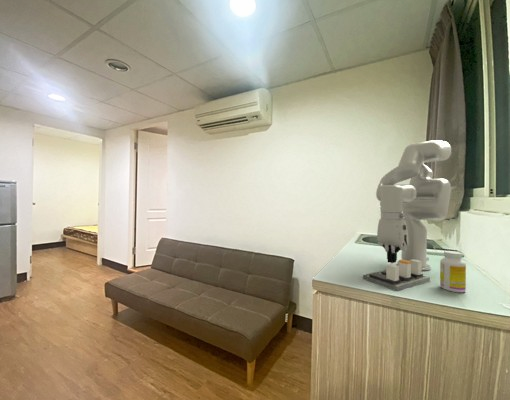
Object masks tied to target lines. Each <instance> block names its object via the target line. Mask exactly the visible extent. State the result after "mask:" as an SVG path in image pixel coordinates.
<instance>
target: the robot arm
mask: <svg viewBox="0 0 510 400" xmlns="http://www.w3.org/2000/svg"><path fill="white" fill-rule="evenodd" d="M451 155H452V146H451V144H449V142H447V141H445V140H444V141H443V140H437V139H436V140H428V141H422V142H415V143H412V144H409V145H408V146H406V147H405V149H404V151H403V152H402V155H401V157H400V160H399V163H398V165H397V166H396V167H395V168H393V169H391V170H390V171H388V172H387V173H386V174H384V175H383V176H382V177H381V179H380V181H379V183H378V185H377V188H376V192H375V196H376V199H377V200H378V202H380V218H379V220H378V224H377V232H376V234H377V235H376V238H377V245H378V246H380V247H382V248H383V249H384V250H385V253H386V259H387V263H389V264H394V263H396V262H397V264H396V265H397V266H399V260H398V253H399V252H400V251H401V256H400V257H401V258H400V260H401V259H403V260H408V261H410V260H412V259H414V260H419V261H422V271H430V270H431V269H432V268H431V267H432V266H431V265H429V264H427V262H429V261H430V258H429V257H428V256H427V249H428V245H427V244H428V243H427V242H428V240H427V239H428V237H427V235H428V231H427V227H426V225H425V224H424V223H423V222H422V221H438V222H439V221H443V220H445V219H446V218H447V216H448V211H449V206H450V200H451V194H452V185H451V182H450V181H449V180H448V179H446V178H433V177H434V172H433V170H432V169H431V168H430V167H429V166H428V165H426V164H425V163H433V162H441V161H446V160H448V159H449V158H450V157H451ZM409 179H410V180H409ZM407 180H409V184H398V183H400V182H403V181H407ZM397 260H398V261H397Z"/></svg>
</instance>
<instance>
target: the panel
mask: <svg viewBox="0 0 510 400" xmlns="http://www.w3.org/2000/svg"><path fill="white" fill-rule="evenodd" d="M362 280H365V281H368V282H370V283H374V284H377V285H379V286H383V287H385V288H388V289H391V290H393V291H396V292H399V291H402V290H406V289H410V288H412V287H415V286H419V285H422V284H423V285H424V284H425V283H430V281H431V277H430V276H426V275H424V274H423V273H422V274H420V275H416V274H412V273H411V277H409V278H405V277H402V276H399V280H398V281H393V280H389V279H386V269H385V270H379V271H375V272H371V273H370V272H369V273H367V274H362Z"/></svg>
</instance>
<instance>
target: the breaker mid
mask: <svg viewBox="0 0 510 400" xmlns="http://www.w3.org/2000/svg"><path fill="white" fill-rule="evenodd" d="M398 261H399V265H398V266H399V276H402V277H405V278H409V277H411V261H408V260H403V259H401V258H400V259H398Z"/></svg>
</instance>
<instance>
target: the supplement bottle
mask: <svg viewBox="0 0 510 400" xmlns="http://www.w3.org/2000/svg"><path fill="white" fill-rule="evenodd" d="M443 255H444V257H443V258H441V259H440V260H439V261H440V262H439V263H440V264H439V265H440V266H439V267H440V268H439V269H440V273H439V275H440V276H439V282H440V283H439V284H440V287H441V288H442V289H443V290H446V291H448V292H452V293H464V292H467V291H466V285H467V282H466V279H467V277H466V276H467V272H466V271H467V265H466V264H467V263H466V262H465V261H464V260H462V257H463V253H461V252H459V251H454V250H453V251H452V250H445V251H444V250H443Z"/></svg>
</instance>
